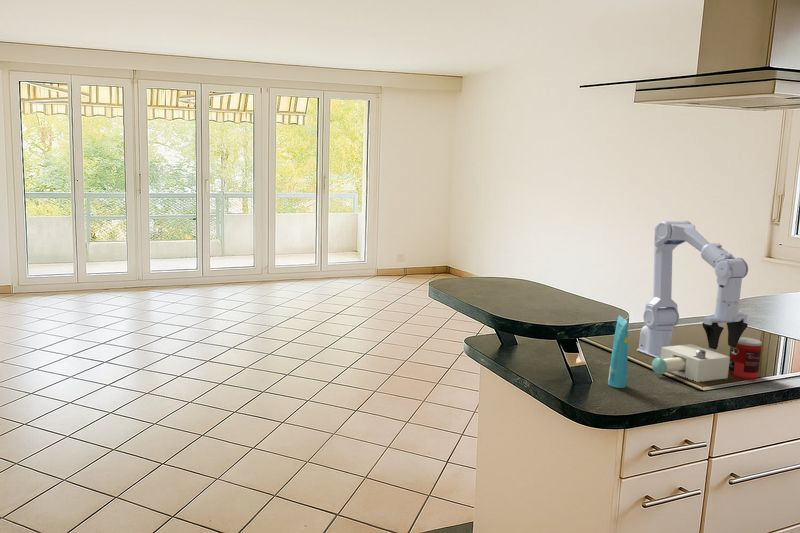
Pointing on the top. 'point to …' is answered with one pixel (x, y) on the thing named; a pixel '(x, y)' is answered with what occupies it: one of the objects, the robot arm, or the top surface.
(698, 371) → the housing
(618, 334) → the tube
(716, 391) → the top surface
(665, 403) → the top surface
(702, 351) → the plunger
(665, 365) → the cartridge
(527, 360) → the top surface
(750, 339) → the canned food
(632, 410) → the top surface
